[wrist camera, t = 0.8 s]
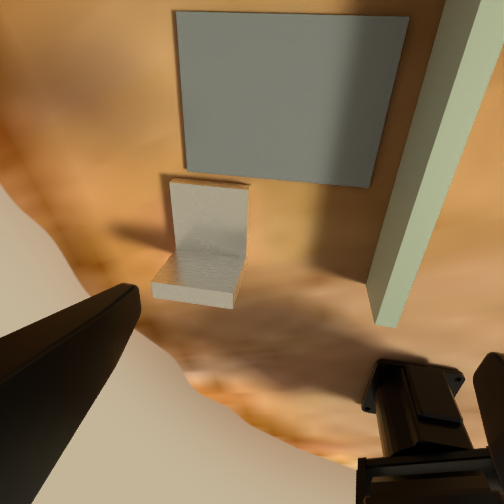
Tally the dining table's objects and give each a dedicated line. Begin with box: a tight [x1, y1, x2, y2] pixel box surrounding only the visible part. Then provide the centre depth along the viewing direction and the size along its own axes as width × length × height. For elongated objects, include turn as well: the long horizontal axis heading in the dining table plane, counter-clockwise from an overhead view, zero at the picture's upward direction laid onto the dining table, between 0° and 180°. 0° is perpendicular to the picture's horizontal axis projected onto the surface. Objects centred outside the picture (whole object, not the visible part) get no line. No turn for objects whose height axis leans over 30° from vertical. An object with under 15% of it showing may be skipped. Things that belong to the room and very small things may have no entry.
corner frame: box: [366, 0, 504, 328], centre depth 16 cm, size 20×16×4 cm
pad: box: [176, 11, 410, 188], centre depth 17 cm, size 8×11×1 cm
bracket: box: [151, 178, 251, 309], centre depth 20 cm, size 6×5×5 cm
